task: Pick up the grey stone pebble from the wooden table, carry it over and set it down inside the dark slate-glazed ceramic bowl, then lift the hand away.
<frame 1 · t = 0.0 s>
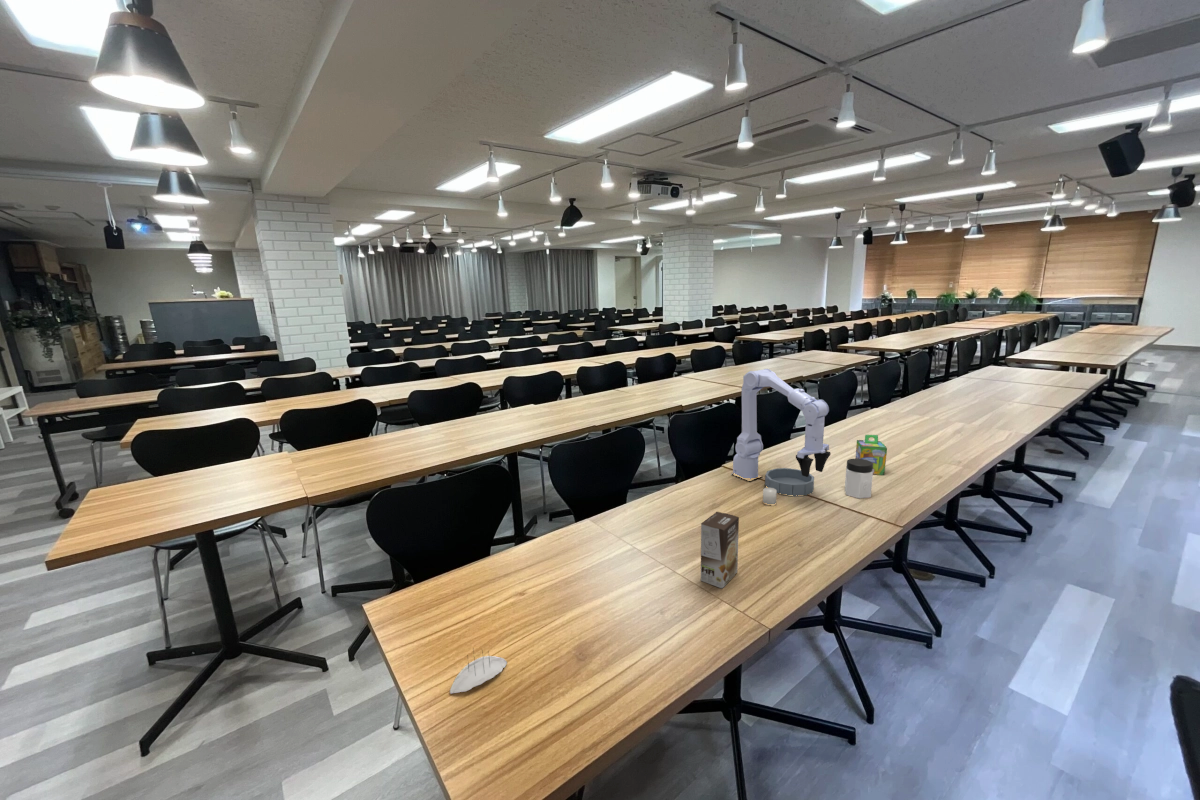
hand: (812, 473, 162), 10 cm above the table, tool pointing down, fingers open, 7 cm apart
coffee box: (719, 577, 122), on the table
bowl: (789, 487, 176), on the table
pebble: (769, 503, 164), on the table
pincushion: (479, 679, 93), on the table
chalk box: (869, 471, 189), on the table
jar: (857, 494, 168), on the table
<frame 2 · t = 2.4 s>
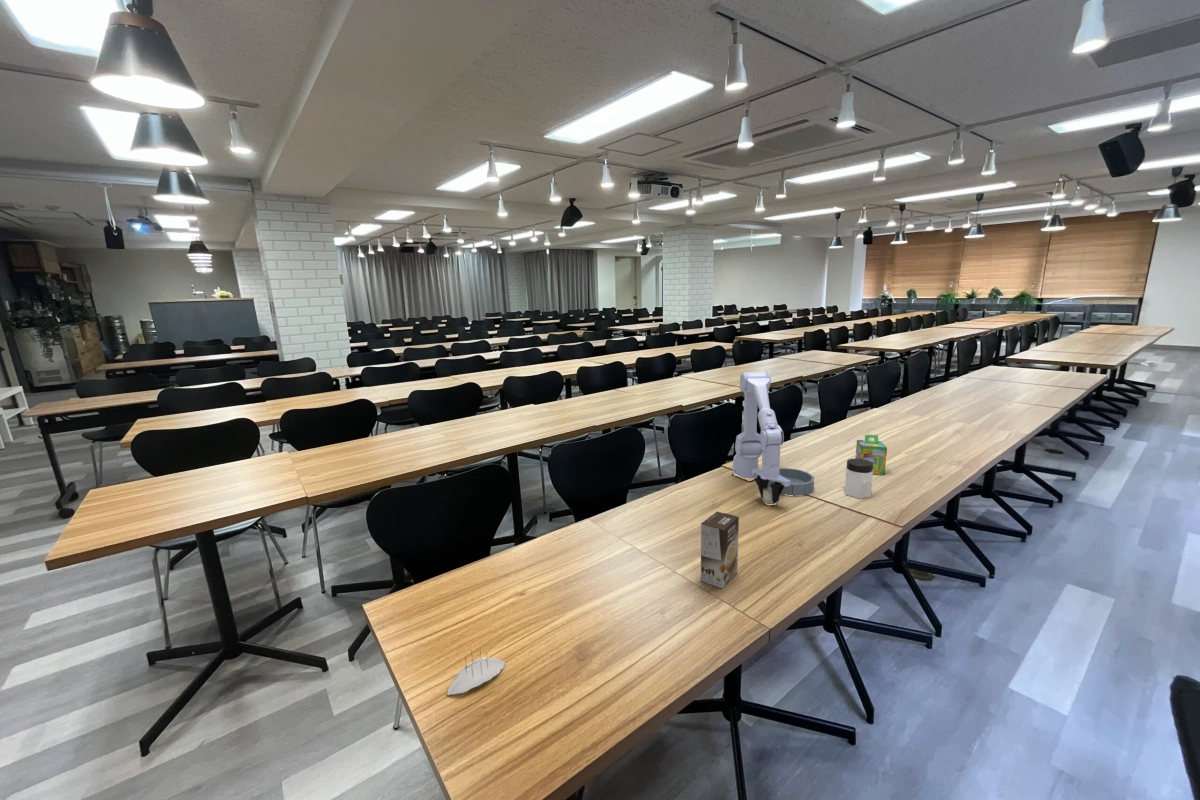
hand: (769, 499, 163), 1 cm above the table, tool pointing down, fingers closed on pebble, 4 cm apart
pebble: (769, 503, 164), on the table, touching gripper
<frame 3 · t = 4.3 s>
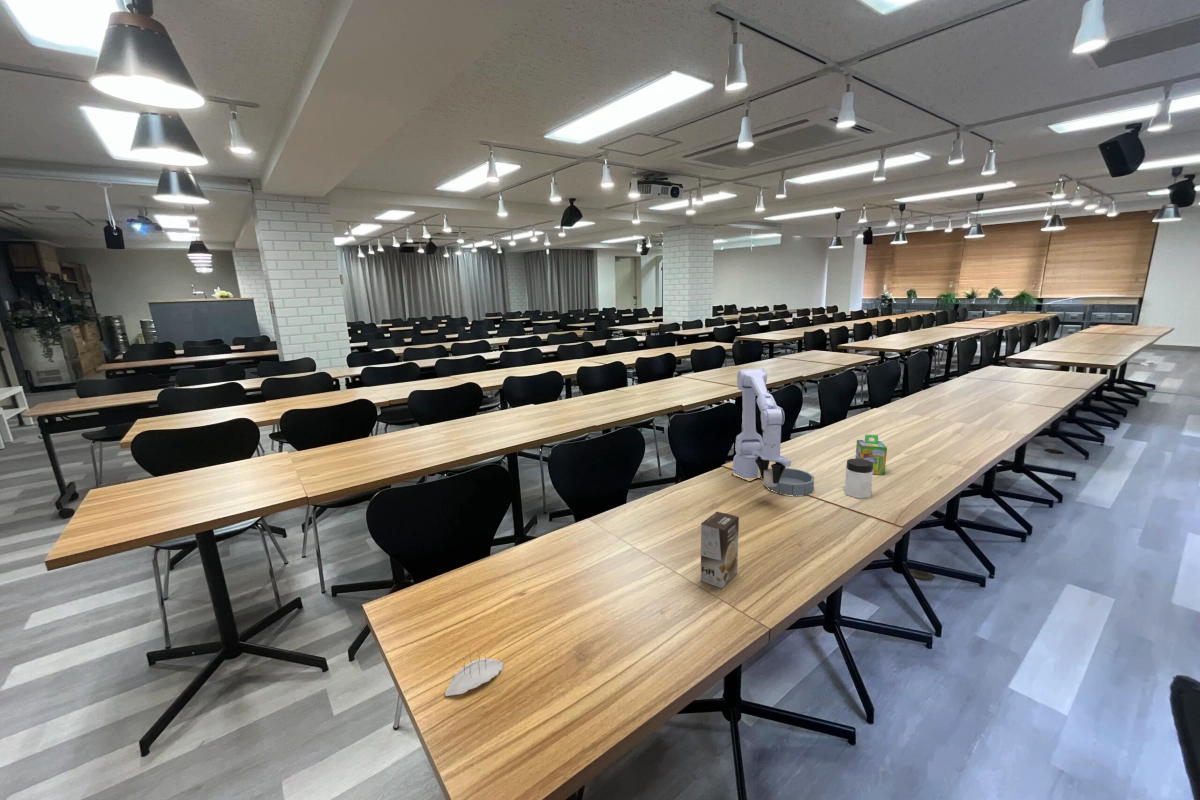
hand: (770, 480, 162), 8 cm above the table, tool pointing down, fingers closed on pebble, 4 cm apart
pebble: (770, 484, 162), point 7 cm above the table, touching gripper
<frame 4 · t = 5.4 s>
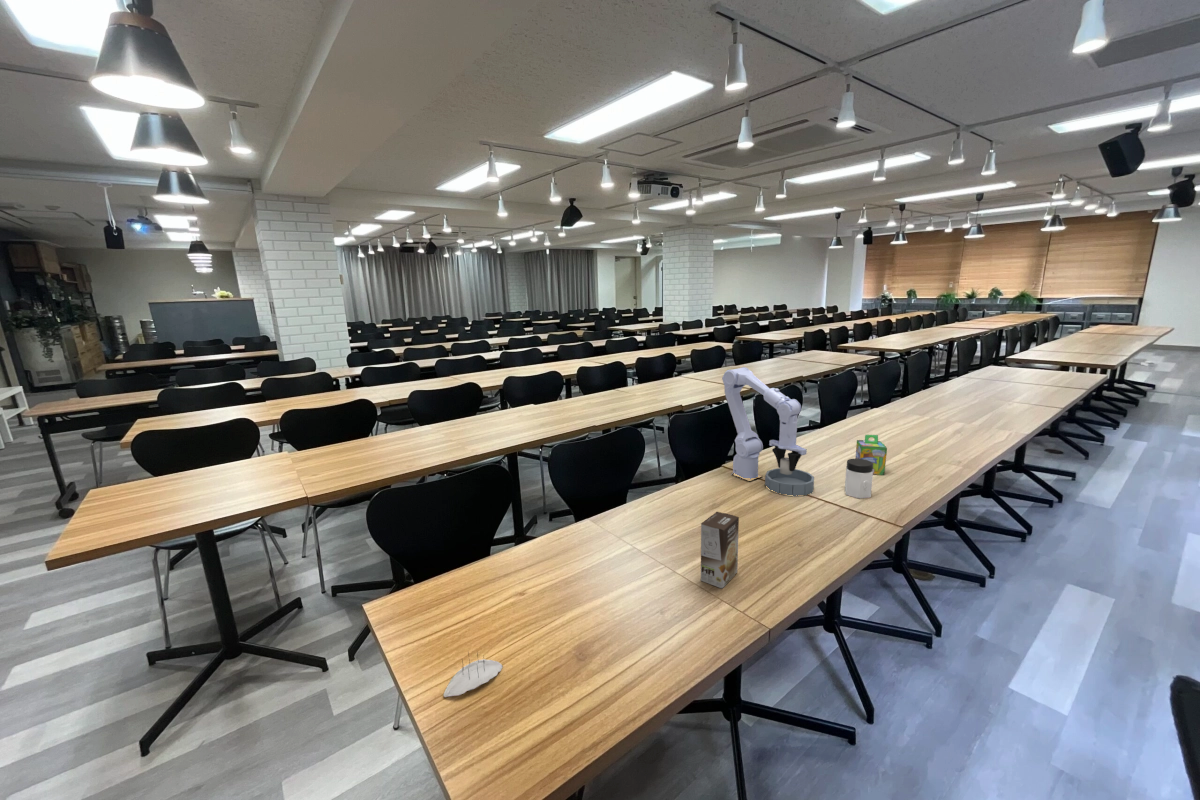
hand: (786, 468, 172), 8 cm above the table, tool pointing down, fingers closed on pebble, 4 cm apart
pebble: (786, 472, 173), point 7 cm above the table, touching gripper
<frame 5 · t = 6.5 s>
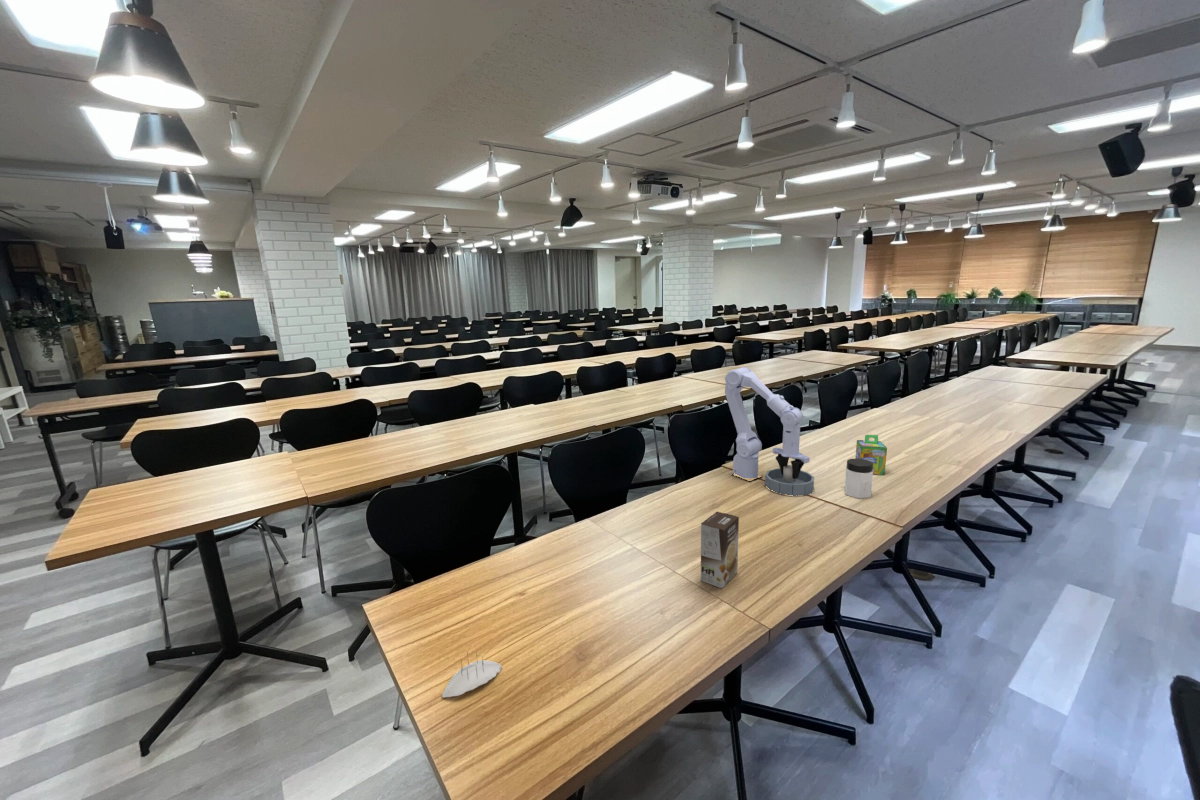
hand: (789, 476, 175), 4 cm above the table, tool pointing down, fingers closed on pebble, 4 cm apart
pebble: (789, 479, 176), point 3 cm above the table, touching gripper
when the fingers open (3 cm above the table, at t = 7.6 s): pebble stays where it is, resting on bowl.
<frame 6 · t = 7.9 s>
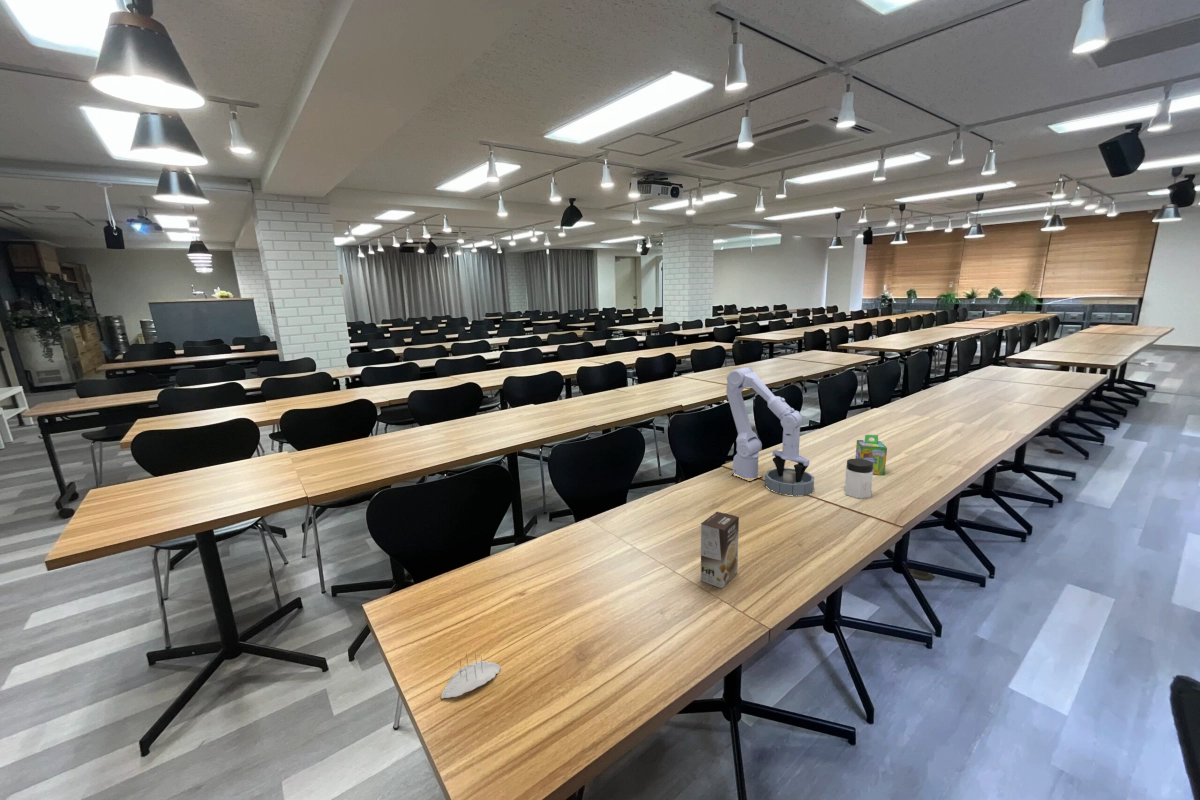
hand: (789, 478, 176), 3 cm above the table, tool pointing down, fingers open, 7 cm apart
pebble: (789, 484, 176), point 1 cm above the table, touching bowl
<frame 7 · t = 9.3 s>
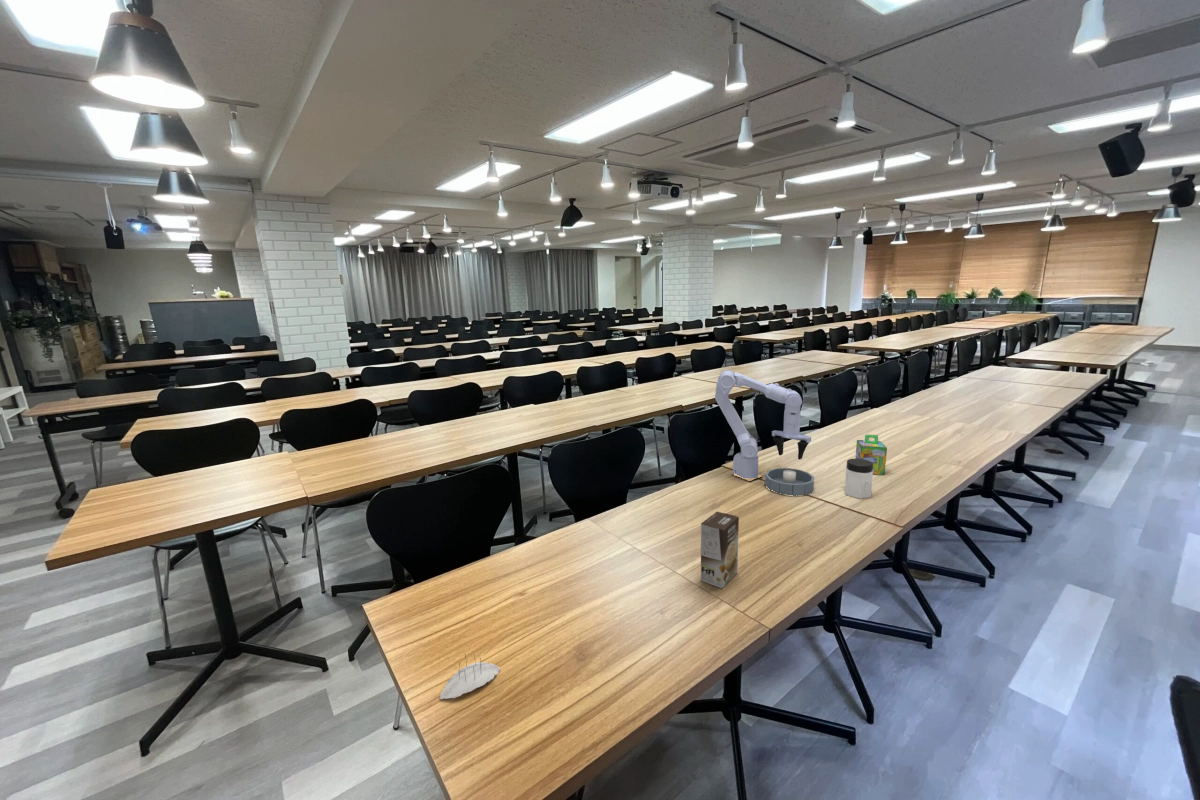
hand: (790, 456, 182), 9 cm above the table, tool pointing down, fingers open, 7 cm apart
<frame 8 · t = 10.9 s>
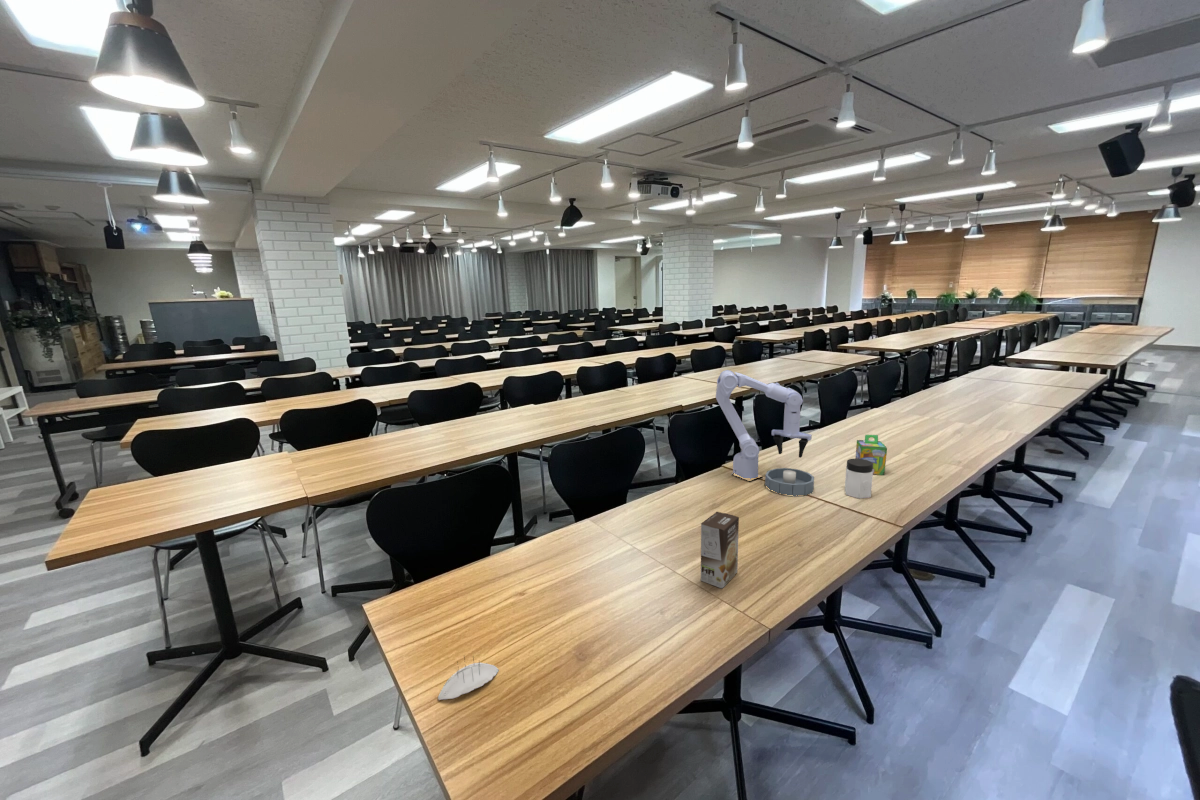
hand: (790, 455, 183), 9 cm above the table, tool pointing down, fingers open, 7 cm apart
at the end: pebble inside the target area on the bowl (0.0 cm from its centre), point 1.0 cm above the bowl's base; the gripper is holding nothing; pebble touching bowl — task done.
